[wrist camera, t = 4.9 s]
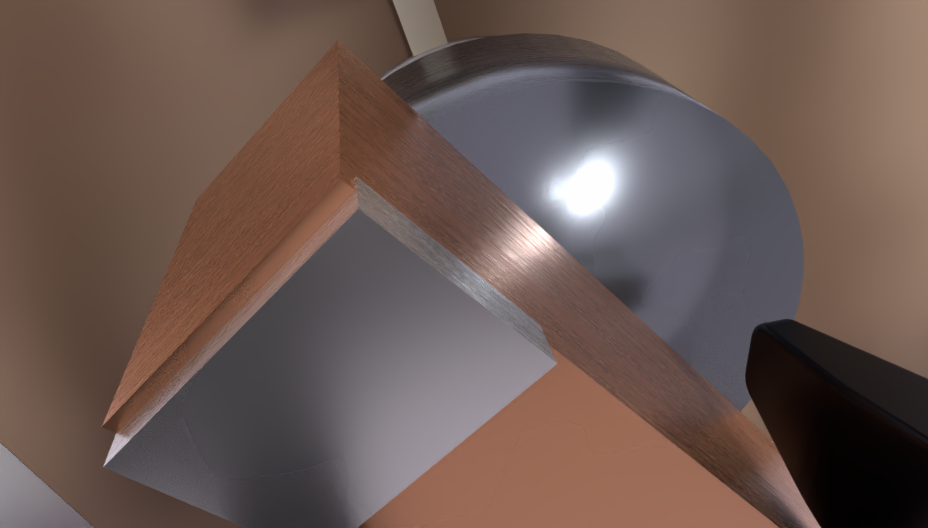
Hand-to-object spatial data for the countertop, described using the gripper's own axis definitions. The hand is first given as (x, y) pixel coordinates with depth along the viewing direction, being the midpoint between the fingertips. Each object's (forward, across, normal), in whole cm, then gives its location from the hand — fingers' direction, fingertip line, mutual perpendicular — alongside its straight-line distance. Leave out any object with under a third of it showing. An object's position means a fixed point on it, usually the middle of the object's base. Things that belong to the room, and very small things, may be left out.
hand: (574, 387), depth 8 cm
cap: (+3, 0, 0) cm, 3 cm away
